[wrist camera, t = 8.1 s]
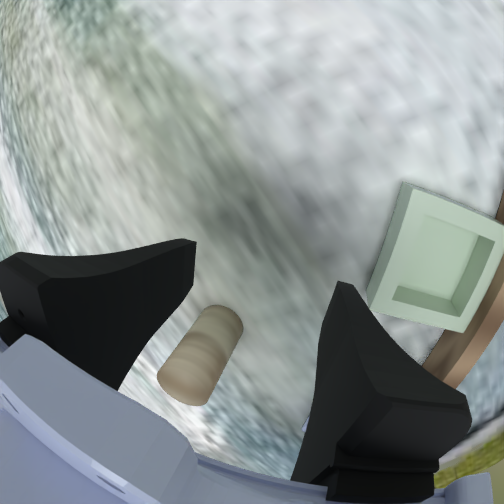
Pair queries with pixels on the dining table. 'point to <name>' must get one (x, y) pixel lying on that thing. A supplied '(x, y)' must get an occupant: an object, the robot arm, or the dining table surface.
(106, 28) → the dining table surface
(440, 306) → the holder
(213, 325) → the dowel
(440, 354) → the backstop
